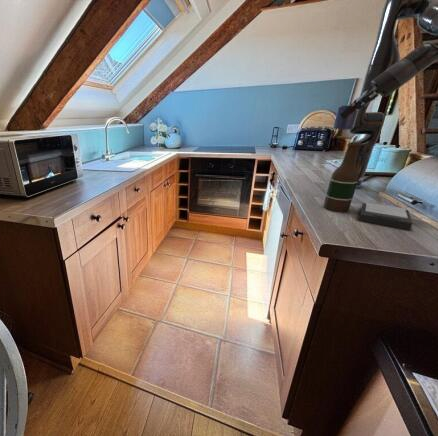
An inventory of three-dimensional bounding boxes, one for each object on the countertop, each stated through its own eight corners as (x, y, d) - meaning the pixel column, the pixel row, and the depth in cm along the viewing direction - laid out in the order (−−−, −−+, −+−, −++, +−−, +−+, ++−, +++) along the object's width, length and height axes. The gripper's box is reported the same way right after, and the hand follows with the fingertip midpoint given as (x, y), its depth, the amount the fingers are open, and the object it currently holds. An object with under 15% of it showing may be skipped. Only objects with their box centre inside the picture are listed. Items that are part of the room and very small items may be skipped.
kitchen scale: (360, 209, 90) (363, 201, 89) (405, 216, 83) (409, 208, 82) (358, 220, 81) (361, 212, 80) (409, 230, 73) (413, 221, 72)
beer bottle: (325, 203, 97) (343, 140, 87) (350, 208, 91) (371, 141, 82) (320, 208, 92) (338, 142, 82) (346, 213, 86) (368, 143, 77)
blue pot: (333, 128, 97) (339, 106, 94) (353, 128, 94) (360, 105, 91) (331, 128, 93) (337, 106, 90) (352, 129, 89) (359, 105, 86)
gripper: (380, 72, 88) (332, 109, 98) (391, 66, 77) (335, 108, 87) (395, 88, 88) (345, 123, 98) (408, 84, 76) (350, 124, 87)
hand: (340, 116), depth 92 cm, fingers closed on blue pot, 6 cm apart
